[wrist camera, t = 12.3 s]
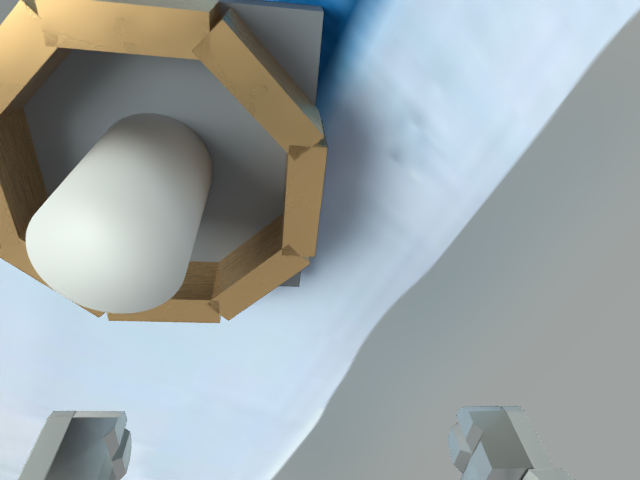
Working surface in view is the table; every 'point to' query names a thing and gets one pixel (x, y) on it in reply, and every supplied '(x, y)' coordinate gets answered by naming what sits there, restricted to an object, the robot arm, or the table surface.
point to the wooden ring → (231, 70)
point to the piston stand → (156, 164)
